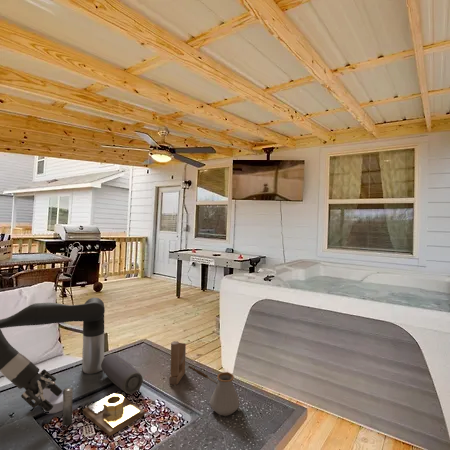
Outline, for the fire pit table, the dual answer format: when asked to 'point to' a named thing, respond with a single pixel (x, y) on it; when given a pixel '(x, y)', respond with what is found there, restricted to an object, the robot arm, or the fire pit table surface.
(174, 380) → the wooden block
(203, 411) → the fire pit table surface
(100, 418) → the board
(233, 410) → the coffee pot
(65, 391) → the pin
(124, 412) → the hinge
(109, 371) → the bluetooth speaker
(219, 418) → the fire pit table surface
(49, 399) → the wedge on round base
